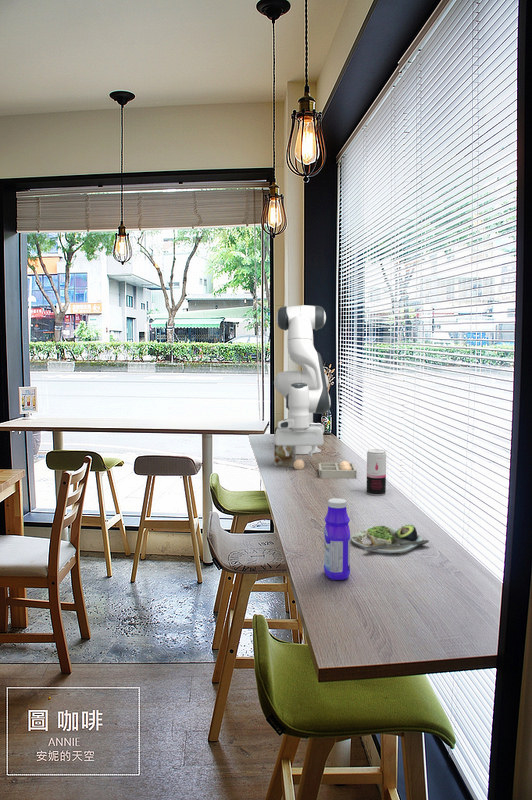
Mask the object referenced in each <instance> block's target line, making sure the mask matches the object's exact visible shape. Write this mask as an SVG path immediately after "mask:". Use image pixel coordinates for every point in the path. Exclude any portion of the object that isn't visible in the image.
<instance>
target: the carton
mask: <svg viewBox="0 0 532 800" xmlns="http://www.w3.org/2000/svg"><path fill="white" fill-rule="evenodd" d="M340 463H341V462H318V476H319V479H341V480H342V479H343V480H345V479H350V480H352V479H357V468H356V467H355V464H354V463H353V462H349V464H350V467H351V468H352V470H340V468H341V466H339V464H340Z"/></svg>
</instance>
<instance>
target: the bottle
mask: <svg viewBox="0 0 532 800" xmlns="http://www.w3.org/2000/svg"><path fill="white" fill-rule="evenodd" d="M350 521H351V519H350V517H349V515H348V512H347V500H346V499H344V498H337V497H335V498H330V499H328V501H327V513H326V515H325V517H324V522H325V524H324V530H323V534H324V536H323V537H324V540H323V542H324V549H323V550H324V551H323V552H324V554H323V556H324V557H323V558H324V559H323V572H324V574H325V575H326V577H327V578H328V579H330V580H332V581H338V580H339V581H341V580H342V581H343V580H347V579H349V577H350V574H351V549H350V547H351V544H350V543H351V530H350V525H349V523H350Z"/></svg>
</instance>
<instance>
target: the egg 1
mask: <svg viewBox="0 0 532 800" xmlns="http://www.w3.org/2000/svg"><path fill="white" fill-rule="evenodd" d="M293 466H294V467H293V468H294V469H295V470H298V471H299V470H303V469H304V468H305V462H304V460H303V459H302V458H301V459H300V458H298V459H295V461H294V463H293Z"/></svg>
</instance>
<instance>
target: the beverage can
mask: <svg viewBox="0 0 532 800" xmlns="http://www.w3.org/2000/svg"><path fill="white" fill-rule="evenodd" d="M386 490H387V451H386V450H385V449H368V450H367V452H366V493H367V495H370V494H371V496H375V495H380V496H384V495H385V494H386V492H387V491H386ZM383 494H384V495H383Z"/></svg>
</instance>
